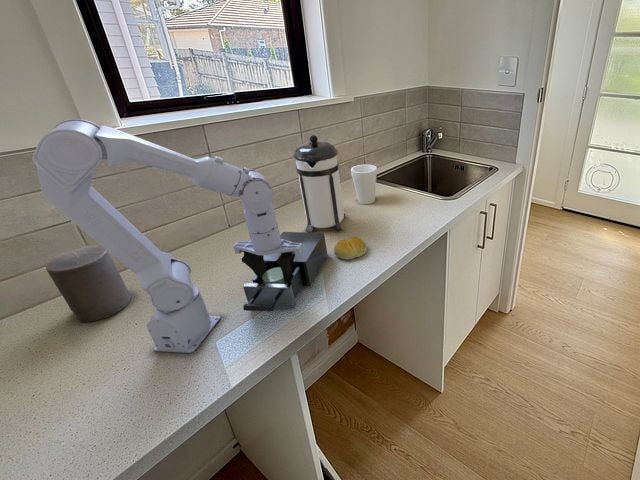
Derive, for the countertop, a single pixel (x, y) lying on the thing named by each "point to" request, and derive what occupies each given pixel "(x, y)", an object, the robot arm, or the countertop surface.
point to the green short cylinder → (274, 276)
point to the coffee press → (320, 184)
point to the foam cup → (364, 182)
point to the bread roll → (350, 248)
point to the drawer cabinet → (305, 253)
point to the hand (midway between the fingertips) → (275, 278)
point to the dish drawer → (274, 291)
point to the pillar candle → (89, 283)
